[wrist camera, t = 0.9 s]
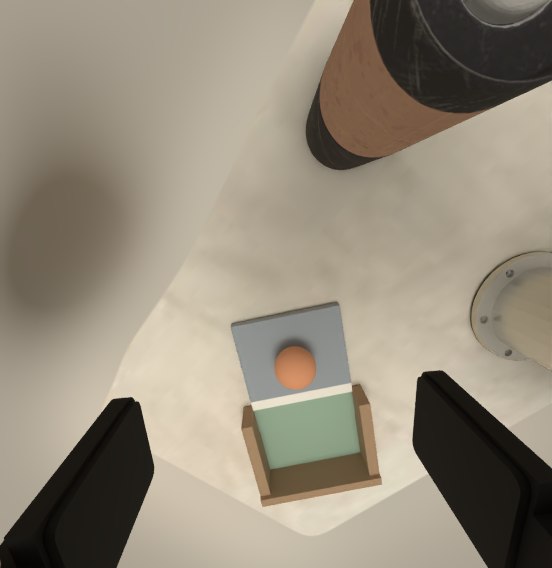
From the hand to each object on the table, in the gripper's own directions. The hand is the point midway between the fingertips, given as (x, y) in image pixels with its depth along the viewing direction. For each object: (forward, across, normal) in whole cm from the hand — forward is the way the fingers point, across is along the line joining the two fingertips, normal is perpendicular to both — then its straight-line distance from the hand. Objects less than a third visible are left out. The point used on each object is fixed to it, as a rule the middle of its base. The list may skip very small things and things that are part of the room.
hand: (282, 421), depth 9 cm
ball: (+18, -2, +10) cm, 21 cm away
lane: (+21, -3, +15) cm, 26 cm away
